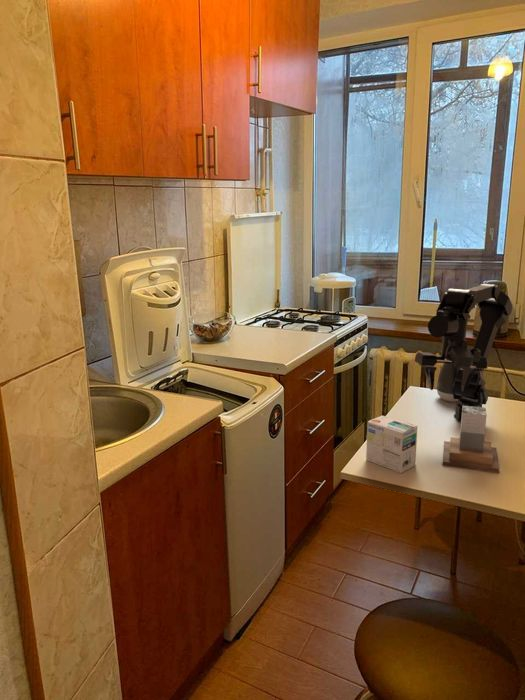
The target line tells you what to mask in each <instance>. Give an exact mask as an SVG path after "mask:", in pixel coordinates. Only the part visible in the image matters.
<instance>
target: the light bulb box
mask: <svg viewBox="0 0 525 700" xmlns="http://www.w3.org/2000/svg"><path fill="white" fill-rule="evenodd" d="M366 426H367V427H366V428H367V431H366V453H365V455H366V456H365V460H366V461H367V462H370V463H373V464H376V465H379V466H381V467H383V468H386V469H388V470H391V471H393V472H396V473H399V474H403V473H404V472H406V471H408V470H410V469H411V468H412V467H414V466H416V461H417V460H416V459H417V441H418V425H416V424H412V423H409V422H405V421H402V420H398V419H394V418H391V417H388V416H385V415H380V416H378V417H375V418H373V419H370V420H368V421H367V424H366Z"/></svg>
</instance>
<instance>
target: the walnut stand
mask: <svg viewBox="0 0 525 700" xmlns="http://www.w3.org/2000/svg"><path fill="white" fill-rule="evenodd" d="M459 441H460V437H450V441H445V440H444V441H443V451H442V452H443V453H442V463H441V464H442V466H444V467H445V466H446V467H453V468H458V469H459V468H460V469H467V470H476V471H480V472H489V473H496V474H499V473H500V464H499V456H498V449H497V447H495V446H492V441H487V440H484V446H483V453H478V452H470V451H463V450H459Z"/></svg>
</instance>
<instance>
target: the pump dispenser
mask: <svg viewBox="0 0 525 700" xmlns="http://www.w3.org/2000/svg"><path fill="white" fill-rule="evenodd" d="M459 369H463V366H461V367H456V366H454V365H453V364H451V363H442V365H441V368H440V369H439V372H438V375H437V379H436V384H435V389H436V391H437V395H438V396H439V398H441V400H444V401H445V402H448V401H449V403H458V399H453V391H452V384H453V382H454V380H455V378H456V375H457V372H458V370H459Z"/></svg>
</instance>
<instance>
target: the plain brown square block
mask: <svg viewBox="0 0 525 700" xmlns="http://www.w3.org/2000/svg"><path fill="white" fill-rule="evenodd" d="M486 425H487V409H486V407H483V406H482V407H473V406H462V418H461V422H460V432H459V438H460V441H459V450H463V451H470V452H478V453H483V446H484V441H485V436H486V435H485V433H486Z"/></svg>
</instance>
